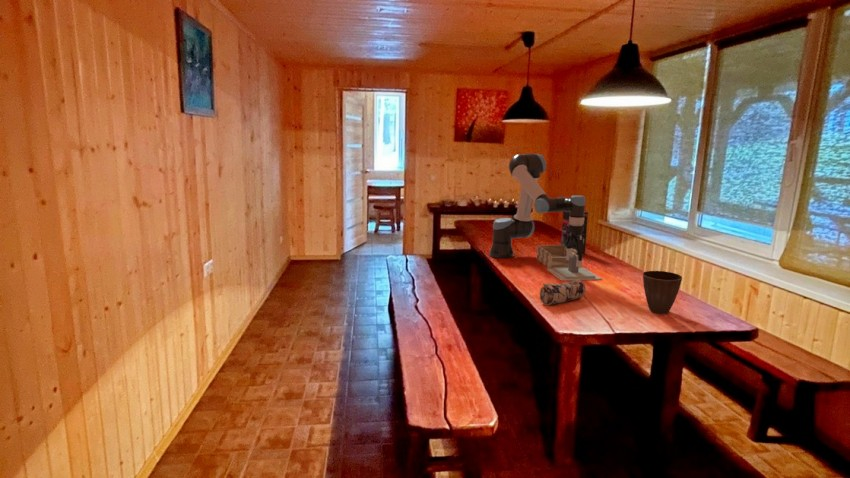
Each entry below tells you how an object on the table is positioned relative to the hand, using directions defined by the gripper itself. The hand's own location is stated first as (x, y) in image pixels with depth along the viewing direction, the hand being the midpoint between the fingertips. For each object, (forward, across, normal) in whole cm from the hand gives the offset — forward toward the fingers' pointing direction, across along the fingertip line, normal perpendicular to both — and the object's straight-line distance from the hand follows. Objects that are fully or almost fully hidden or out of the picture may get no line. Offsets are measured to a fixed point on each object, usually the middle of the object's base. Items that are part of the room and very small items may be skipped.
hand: (573, 263), depth 260 cm
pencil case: (+7, -42, +22) cm, 48 cm away
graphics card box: (+7, +54, -22) cm, 59 cm away
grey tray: (+6, 0, 0) cm, 6 cm away
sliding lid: (+6, 0, 0) cm, 6 cm away
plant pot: (+7, -58, -14) cm, 61 cm away
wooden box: (+6, +24, 0) cm, 24 cm away
